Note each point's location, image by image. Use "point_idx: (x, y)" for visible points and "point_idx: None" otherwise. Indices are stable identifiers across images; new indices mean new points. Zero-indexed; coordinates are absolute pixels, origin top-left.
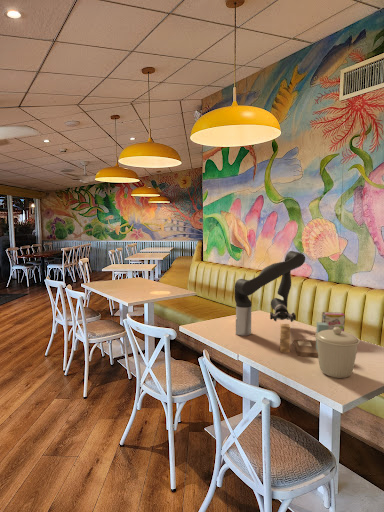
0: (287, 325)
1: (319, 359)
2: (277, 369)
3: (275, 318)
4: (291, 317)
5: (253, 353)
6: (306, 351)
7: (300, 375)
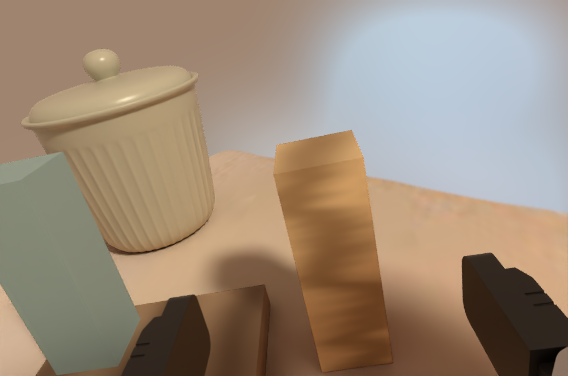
0: (296, 152)
1: (209, 164)
2: (372, 186)
3: (481, 256)
4: (168, 324)
5: (552, 253)
6: (209, 302)
7: None
